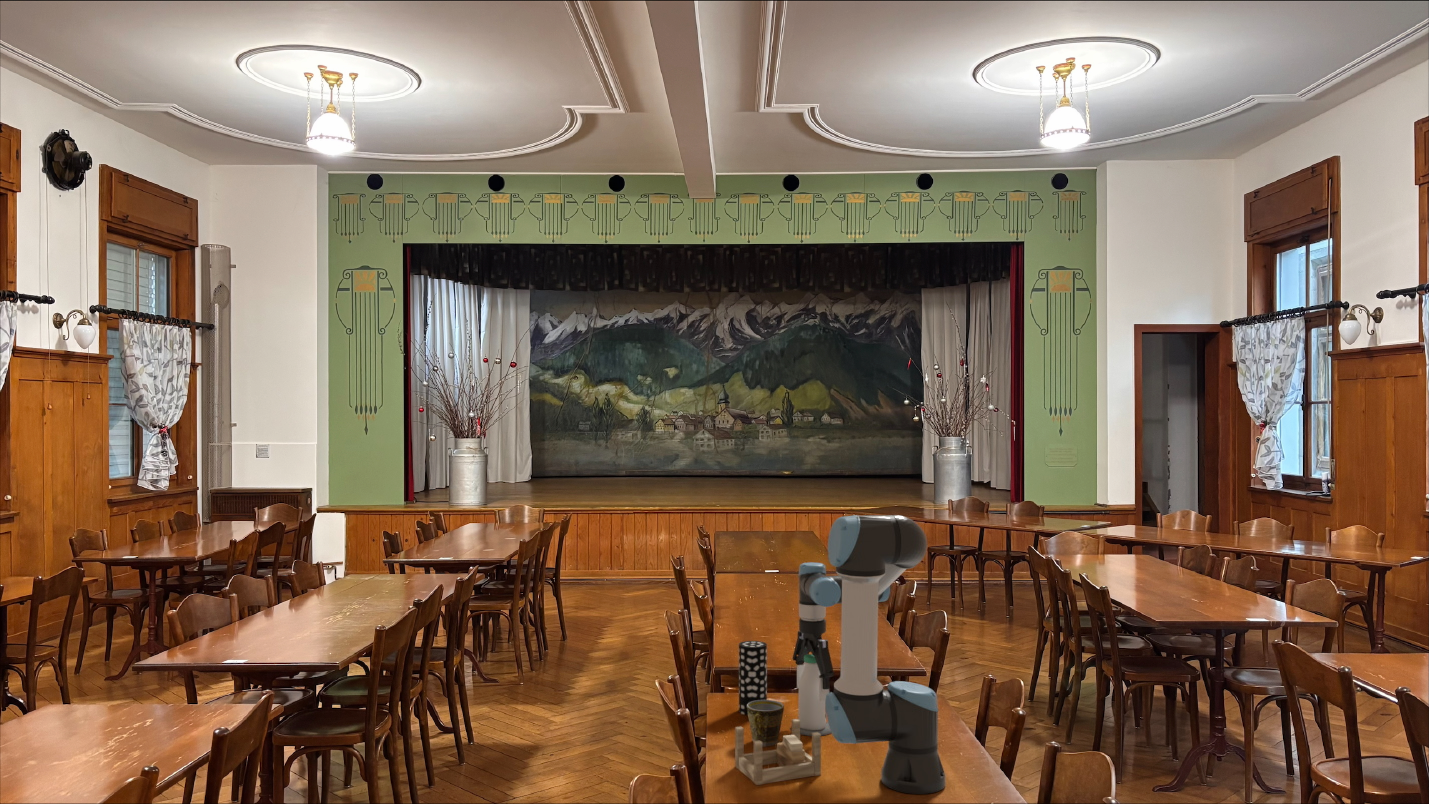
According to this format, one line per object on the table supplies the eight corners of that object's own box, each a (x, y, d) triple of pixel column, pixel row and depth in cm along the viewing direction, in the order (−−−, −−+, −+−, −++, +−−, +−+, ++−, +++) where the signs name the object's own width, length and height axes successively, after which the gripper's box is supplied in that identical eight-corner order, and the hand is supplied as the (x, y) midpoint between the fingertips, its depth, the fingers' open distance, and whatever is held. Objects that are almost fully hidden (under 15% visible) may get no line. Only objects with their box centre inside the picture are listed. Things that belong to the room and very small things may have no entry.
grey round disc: (841, 732, 267) (841, 730, 267) (803, 738, 262) (803, 735, 262) (821, 719, 278) (821, 717, 278) (784, 725, 273) (784, 722, 273)
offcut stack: (806, 773, 237) (806, 743, 237) (791, 775, 235) (791, 745, 235) (791, 761, 245) (791, 732, 245) (776, 764, 243) (776, 734, 243)
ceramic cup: (754, 734, 266) (754, 697, 266) (788, 738, 262) (788, 702, 262) (737, 749, 254) (737, 711, 254) (773, 754, 250) (773, 715, 250)
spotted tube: (754, 705, 292) (753, 639, 292) (772, 711, 286) (772, 644, 286) (733, 710, 287) (733, 643, 287) (751, 717, 280) (751, 648, 281)
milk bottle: (824, 732, 266) (824, 659, 266) (797, 730, 267) (796, 658, 267) (827, 723, 273) (826, 652, 273) (800, 721, 275) (799, 651, 275)
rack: (820, 774, 236) (820, 733, 236) (756, 785, 229) (756, 743, 229) (797, 757, 248) (797, 718, 248) (735, 766, 241) (735, 726, 241)
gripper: (846, 625, 260) (846, 704, 260) (803, 608, 284) (804, 681, 283) (821, 628, 258) (822, 707, 257) (781, 610, 281) (781, 683, 280)
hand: (812, 693), depth 270 cm, fingers open, 13 cm apart
